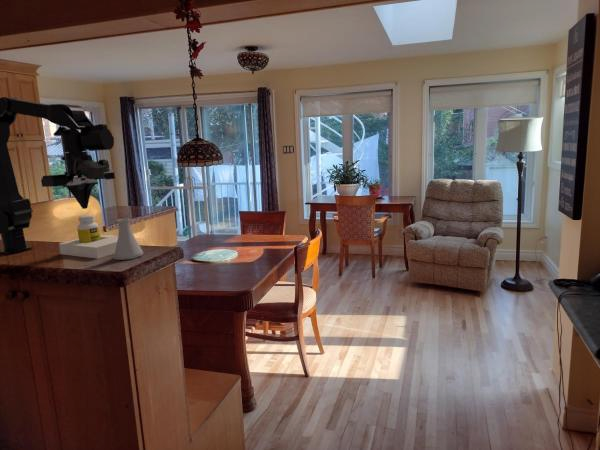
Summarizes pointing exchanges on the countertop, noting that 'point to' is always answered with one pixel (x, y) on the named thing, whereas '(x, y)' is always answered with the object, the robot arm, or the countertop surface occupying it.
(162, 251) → the countertop surface
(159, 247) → the countertop surface
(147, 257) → the countertop surface
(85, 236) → the supplement bottle
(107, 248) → the block
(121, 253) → the flask
